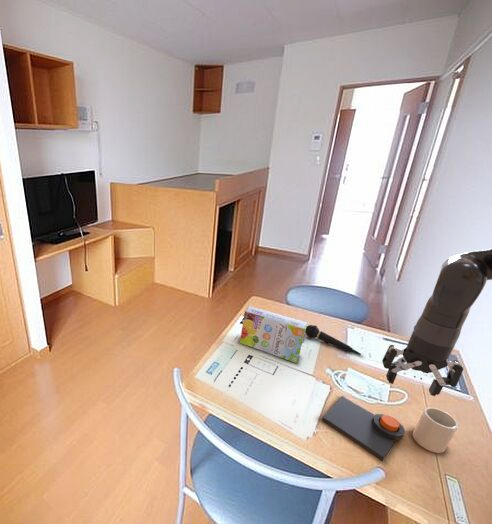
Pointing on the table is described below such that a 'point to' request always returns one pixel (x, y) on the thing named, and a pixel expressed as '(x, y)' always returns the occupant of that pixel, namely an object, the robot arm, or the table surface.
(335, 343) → the microphone
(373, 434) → the scale
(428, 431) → the cup
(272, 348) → the snack box
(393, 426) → the button
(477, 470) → the table surface
